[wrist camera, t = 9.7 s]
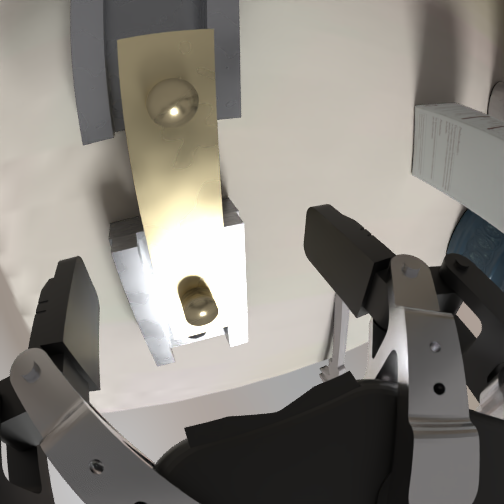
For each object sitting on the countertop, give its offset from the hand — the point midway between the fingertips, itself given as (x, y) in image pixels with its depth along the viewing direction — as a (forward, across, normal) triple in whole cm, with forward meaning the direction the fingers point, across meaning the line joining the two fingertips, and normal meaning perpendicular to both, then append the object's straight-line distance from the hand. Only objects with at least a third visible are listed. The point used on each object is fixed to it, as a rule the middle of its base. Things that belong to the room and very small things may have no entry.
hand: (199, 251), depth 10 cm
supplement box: (+10, -25, -1) cm, 27 cm away
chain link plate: (+7, 0, 0) cm, 7 cm away
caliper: (+10, -16, +24) cm, 30 cm away
